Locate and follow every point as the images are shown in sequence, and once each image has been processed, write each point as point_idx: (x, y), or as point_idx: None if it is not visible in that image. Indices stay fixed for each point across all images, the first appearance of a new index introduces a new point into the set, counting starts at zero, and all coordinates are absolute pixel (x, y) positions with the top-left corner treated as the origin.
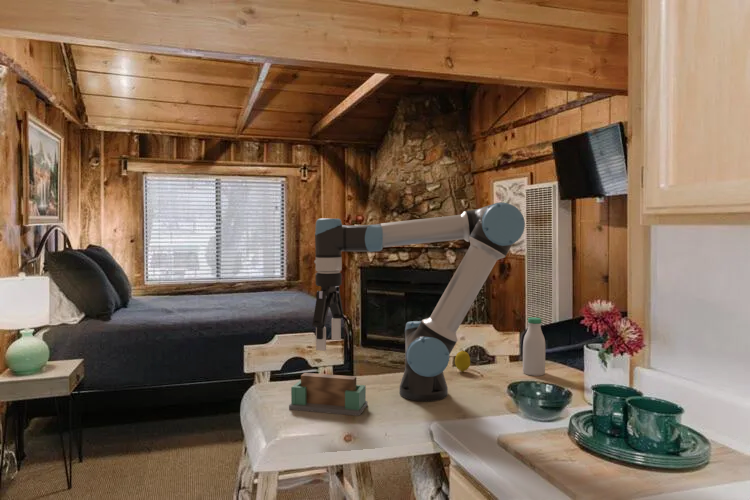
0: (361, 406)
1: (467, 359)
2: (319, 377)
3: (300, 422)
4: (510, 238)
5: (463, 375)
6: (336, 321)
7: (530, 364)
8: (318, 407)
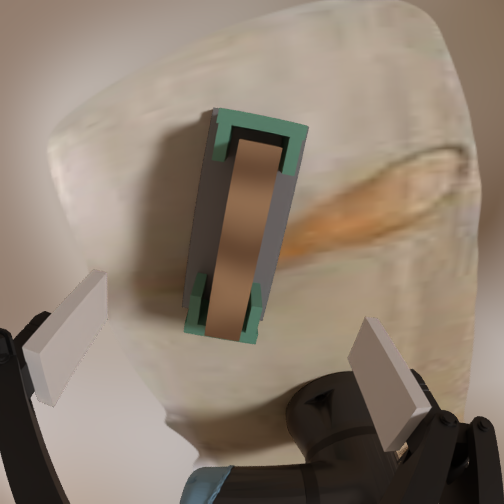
0: None
1: None
2: (224, 218)
3: (121, 165)
4: None
5: None
6: (391, 420)
7: None
8: (199, 199)
